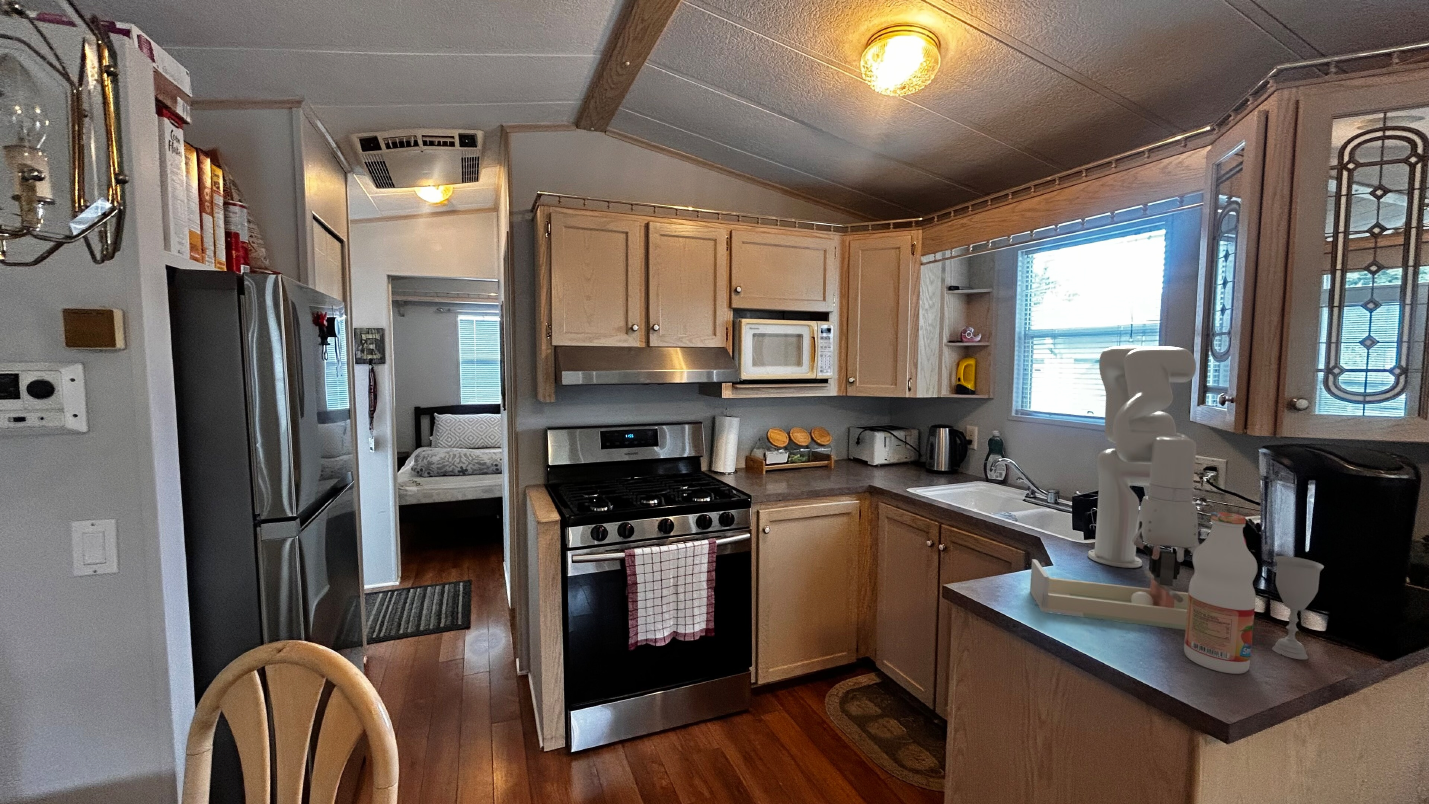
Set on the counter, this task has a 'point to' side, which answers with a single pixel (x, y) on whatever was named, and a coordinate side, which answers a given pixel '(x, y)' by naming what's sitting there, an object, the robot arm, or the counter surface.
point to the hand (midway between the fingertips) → (1163, 575)
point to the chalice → (1295, 597)
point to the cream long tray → (1102, 601)
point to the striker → (1164, 582)
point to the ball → (1142, 598)
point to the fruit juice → (1221, 598)
